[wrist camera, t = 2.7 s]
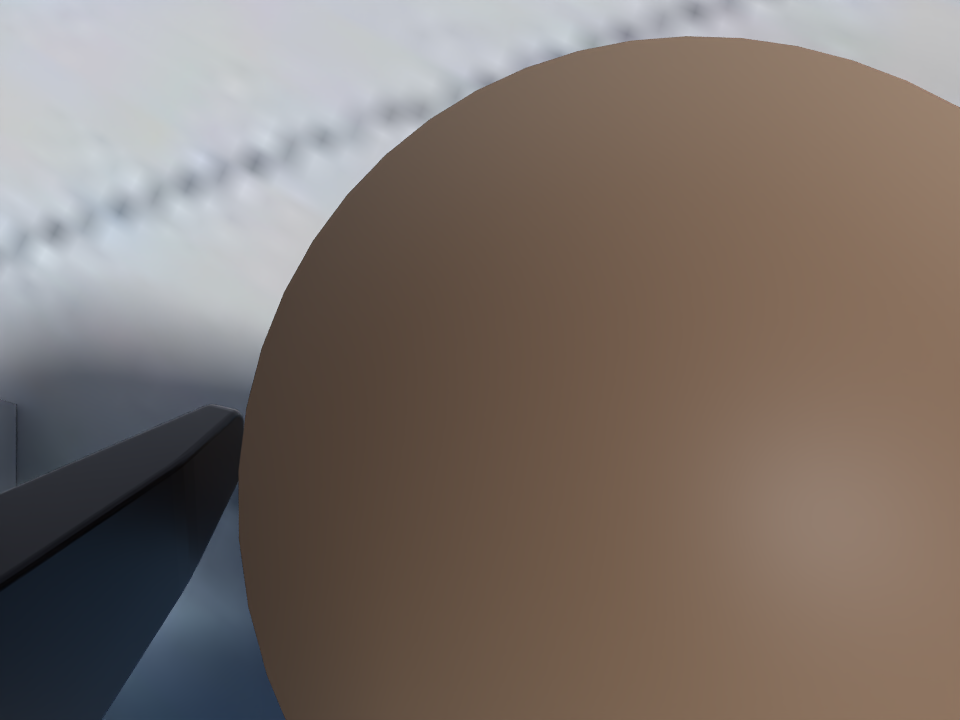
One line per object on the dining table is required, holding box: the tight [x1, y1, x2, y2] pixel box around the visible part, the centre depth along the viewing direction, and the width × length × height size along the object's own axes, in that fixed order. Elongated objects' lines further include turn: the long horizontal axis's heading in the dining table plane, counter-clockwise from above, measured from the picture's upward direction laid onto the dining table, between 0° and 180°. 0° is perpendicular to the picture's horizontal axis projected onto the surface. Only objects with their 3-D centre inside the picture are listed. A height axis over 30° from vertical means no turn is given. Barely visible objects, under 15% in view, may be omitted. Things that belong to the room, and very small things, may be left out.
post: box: [238, 36, 960, 720], centre depth 10 cm, size 5×5×14 cm
